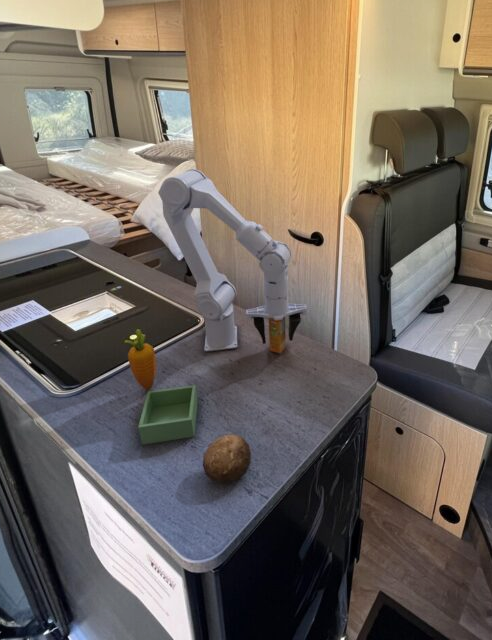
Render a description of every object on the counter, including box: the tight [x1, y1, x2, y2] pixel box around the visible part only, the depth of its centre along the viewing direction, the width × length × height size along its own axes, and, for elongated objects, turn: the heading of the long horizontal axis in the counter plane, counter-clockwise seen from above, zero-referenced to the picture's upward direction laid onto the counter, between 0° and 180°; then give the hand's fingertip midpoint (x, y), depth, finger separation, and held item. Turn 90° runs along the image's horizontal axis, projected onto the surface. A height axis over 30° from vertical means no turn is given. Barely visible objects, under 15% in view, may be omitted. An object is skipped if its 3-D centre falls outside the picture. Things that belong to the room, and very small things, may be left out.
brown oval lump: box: [202, 433, 252, 484], centre depth 68 cm, size 8×8×6 cm
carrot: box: [124, 328, 157, 391], centre depth 81 cm, size 5×5×15 cm
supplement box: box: [268, 317, 287, 354], centre depth 97 cm, size 3×3×10 cm
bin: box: [137, 384, 199, 446], centre depth 76 cm, size 9×9×4 cm
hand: (277, 339), depth 98 cm, fingers open, 6 cm apart
